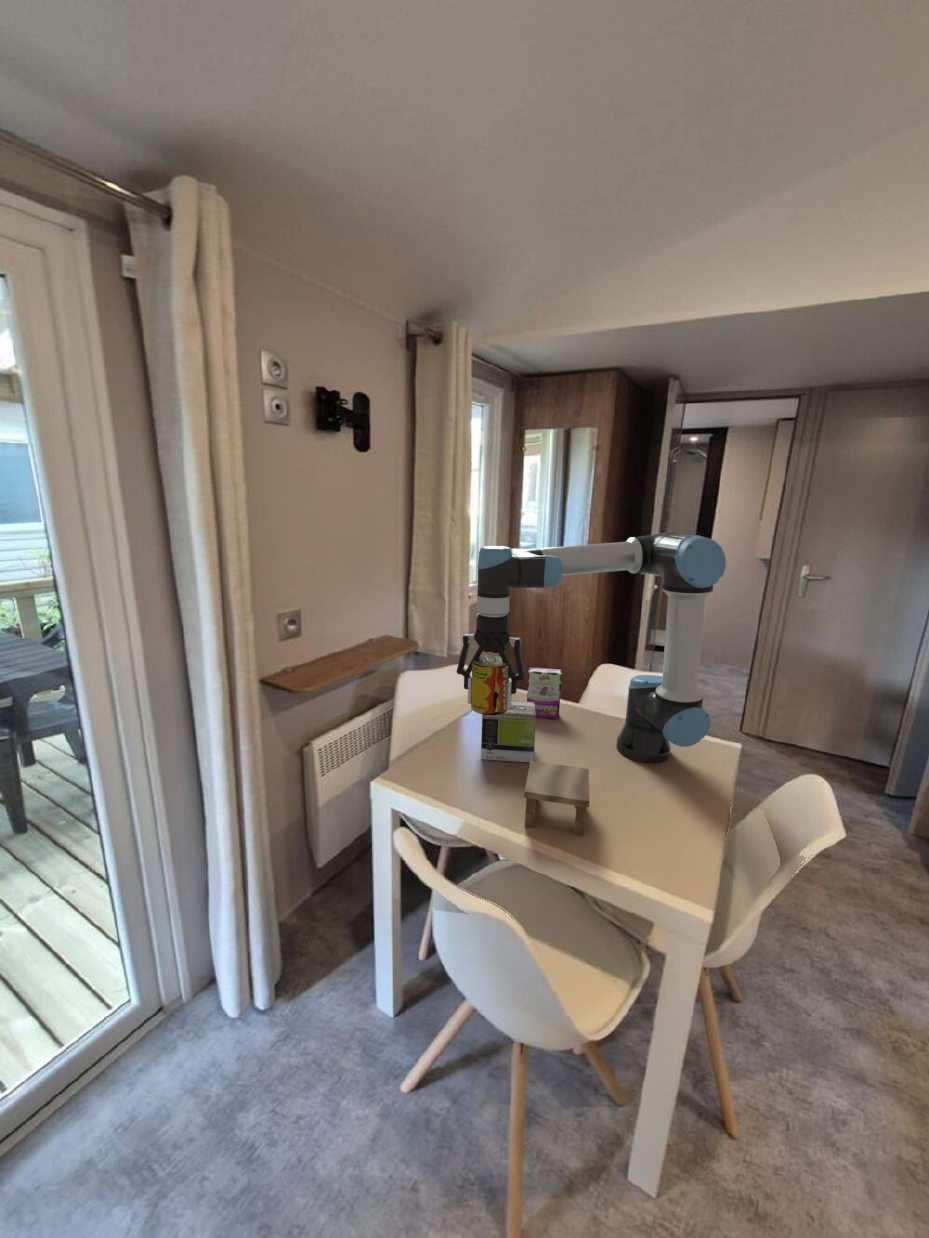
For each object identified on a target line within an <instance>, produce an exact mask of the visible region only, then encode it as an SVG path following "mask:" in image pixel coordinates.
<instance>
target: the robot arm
mask: <svg viewBox="0 0 929 1238" xmlns="http://www.w3.org/2000/svg"><path fill="white" fill-rule="evenodd" d="M477 561H478V562H477V596H476V613H477V614H476V623H475V624H476V626H475V632H474V633H468V632H467V633H465V634H464V635H463V636H462V643H463V645H462V649H461V652H460V657H459V660H458V665H457V668H456V674H457V675H462V676H463V689H464V690H467V704H469V705H471V688H472V661H477V660H478V659H479V657H480V656H481V655H482V654H483V652H484V653H494V654H498V656H500V657H501V659H502V661H503V663H505V664H508V674H509V681H508V695H507V708H510V707H511V704H512V701H513V699H512V698H513V695H516V693H517V689H518V681H524V679H525V677H526V673H525V665H524V661H523V655H522V650H521V644H522V638H521V637H520V636H517V637H514V636H513V637H512V636H511V635H510V634H509V621H510V619H509V618H510V616H509V614H508V613H509V612H510V599H511V598H510V597H511V593H510V591H511V589H541V588H542V589H548V588H556V587H558V586H559V585H560V584H561V581H562V578H563V576H570V575H571V576H572V575H573V576H574V575H584V574H595V573H596V574H597V573H608V572H609V573H610V572H620V571H621V572H622V571H628V572H629V573H630V574H648V575H654V576H658V577H662V581H661V582H662V584H661V585H662V586H661V590H662V591H663V592H664V594H666V596H667V607H666V608H667V609H666V620H665V621H666V623H665V633H664V634H665V637H664V638H665V639H664V650H663V665H662V675H655V674H654V675H653V674H640V675H639V674H638V675H635V676H633V677H631V679H630V681H629V685H628V695H627V701H626V702H627V704H626V711H625V712H626V713H625V721H624V722H625V723H623V727H622V729H621V730H620V733H619V734H618V737H617V739H616V746H615V747H616V749H617V751H618V752H619V753H620V754H622V755H623V756H625V757H626V758H629V759H631V760H634V761H638V762H643V763H650V764H653V763H654V764H655V763H658V764H659V763H663V762H665V761H668V760H669V759H670V757H671V746H670V743H671V744H673V745H675V746H677V747H683V748H686V747H691V746H694V745H696V744H698V743H700V742H701V740H702V739H705V737H706V736H707V735H708V733H709V731H710V730H711V726H712V725H711V724H712V721H711V716H710V714H709V713H708V711H706V709H704V708H703V703H704V692H703V691H701V689H699V688H698V686H699V676H700V673H699V672H700V665H701V663H700V662H701V652H702V642H703V641H702V640H703V629H704V618H705V607H706V606H705V605H706V598H707V597H708V596H709V595H711V593H713V591H714V585H716V584H717V583H718V582H719V581H720V578H722V577H723V576H724V573H725V570H726V566H727V559H726V553H725V551H724V550H723V548H722V546H721V545H719V543H718V542H717V541H716V540H714V539H711V538H710V537H709V538H708V537H705V536H702V535H699V534H688V533H687V534H686V533H677V532H663V533H657V534H656V533H655V534H651V535H642V536H641V535H640V536H633V537H631V536H630V537H629V538H627V540H626V541H619V542H617V541H616V542H605V543H602V542H601V543H592V544H579V545H577V544H576V545H566V546H565V545H564V546H551V547H550V546H549V547H539V548H528V549H527V548H525V549H524V548H520V547H519V548H517V547H515V548H514V547H513V548H511V547H508V546H505V545H504V546H503V545H499V546H498V545H487V546H482V547H481V548H480V549H479V551H478V560H477ZM473 641H475V642H476V643H477V645H478V648H477V650H476V651H475V654H474V656H473V657H472V659H471V661H470V662H469V664H468V666H467V668H465V665H466V661H467V658H468V653H469V650H470V645H471V644H472V642H473ZM508 643H510V645H511V647H512V648H513V653H514V658H515V663H516V669H517V672H516V670H515V668H514V666H513V663H512V661H511V658H510V657H509V654H508V651H507V649H506V646H507V645H508Z"/></svg>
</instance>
